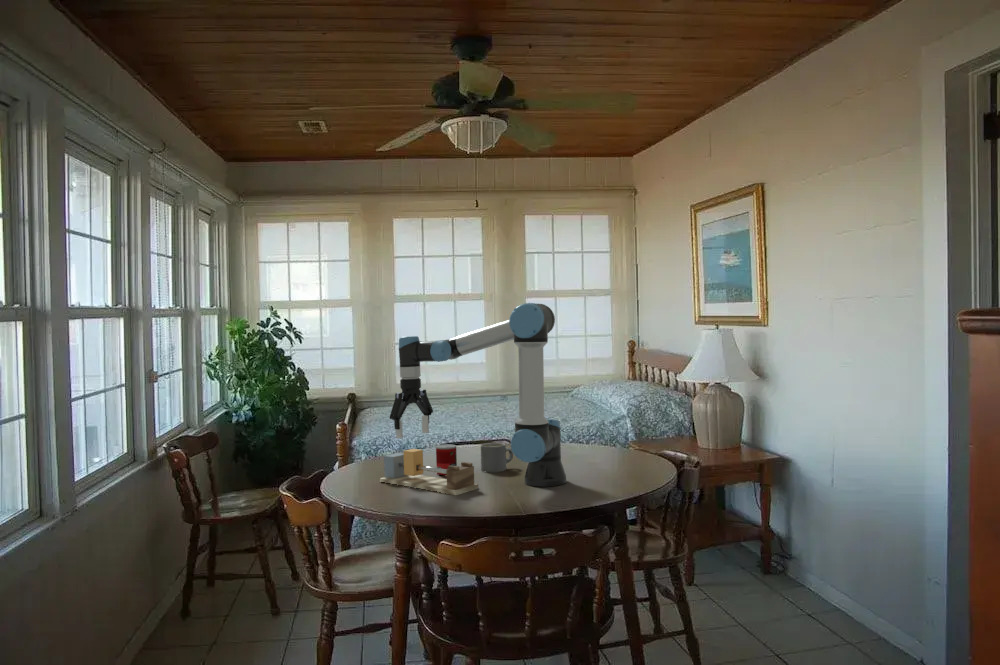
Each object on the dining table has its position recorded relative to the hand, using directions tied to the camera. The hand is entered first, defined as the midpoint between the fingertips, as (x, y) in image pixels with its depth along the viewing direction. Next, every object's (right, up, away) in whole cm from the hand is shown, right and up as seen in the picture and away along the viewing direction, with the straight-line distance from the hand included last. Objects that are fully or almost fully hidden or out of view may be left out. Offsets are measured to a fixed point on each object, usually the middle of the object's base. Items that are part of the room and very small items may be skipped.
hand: (412, 435), depth 261 cm
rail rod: (+5, -13, -4) cm, 15 cm away
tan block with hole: (0, -14, 0) cm, 14 cm away
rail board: (+6, -18, -4) cm, 19 cm away
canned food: (+11, -17, +14) cm, 25 cm away
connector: (-7, -16, +6) cm, 19 cm away
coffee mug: (+31, -17, +20) cm, 41 cm away
